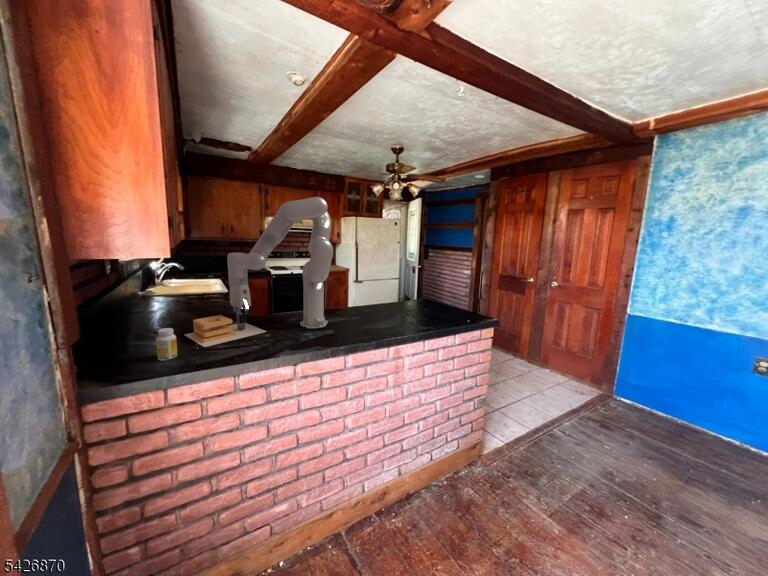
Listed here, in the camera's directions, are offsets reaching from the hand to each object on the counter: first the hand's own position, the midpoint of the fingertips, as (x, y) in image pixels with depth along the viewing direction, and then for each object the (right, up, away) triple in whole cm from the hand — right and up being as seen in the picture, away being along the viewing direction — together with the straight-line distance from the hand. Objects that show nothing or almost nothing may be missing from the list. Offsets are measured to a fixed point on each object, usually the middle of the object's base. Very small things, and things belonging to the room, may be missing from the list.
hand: (240, 321), depth 138 cm
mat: (-4, -5, -4) cm, 8 cm away
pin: (0, -3, +1) cm, 3 cm away
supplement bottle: (-12, -10, -29) cm, 33 cm away
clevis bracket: (-7, -5, -8) cm, 12 cm away
